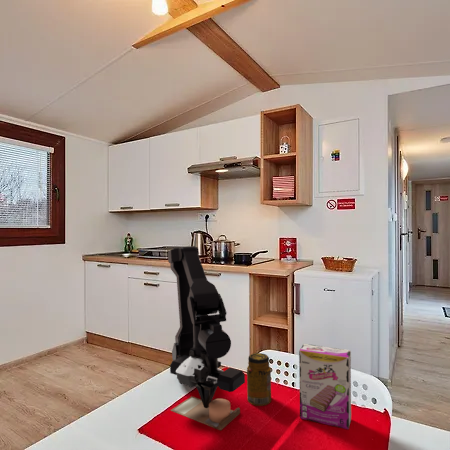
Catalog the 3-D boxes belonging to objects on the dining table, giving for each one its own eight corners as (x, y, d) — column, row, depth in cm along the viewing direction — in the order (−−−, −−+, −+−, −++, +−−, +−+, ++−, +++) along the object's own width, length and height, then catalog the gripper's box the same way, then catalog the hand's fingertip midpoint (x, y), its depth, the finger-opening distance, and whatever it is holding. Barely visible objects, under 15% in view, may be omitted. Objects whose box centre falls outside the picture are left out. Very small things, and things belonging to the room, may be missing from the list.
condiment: (259, 393, 93) (258, 349, 93) (283, 406, 87) (282, 358, 87) (239, 403, 89) (238, 356, 89) (263, 417, 82) (262, 366, 82)
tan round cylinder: (204, 418, 80) (204, 405, 80) (217, 408, 85) (217, 396, 84) (222, 425, 78) (222, 412, 78) (234, 414, 82) (234, 402, 82)
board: (170, 413, 84) (170, 405, 84) (191, 399, 91) (191, 391, 91) (220, 433, 76) (220, 424, 76) (240, 416, 82) (239, 408, 82)
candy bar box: (299, 420, 80) (297, 349, 80) (303, 409, 85) (302, 342, 85) (350, 431, 76) (348, 356, 76) (352, 419, 80) (350, 349, 80)
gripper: (153, 345, 81) (154, 411, 82) (217, 362, 71) (218, 438, 71) (184, 332, 91) (185, 391, 91) (245, 346, 80) (246, 412, 80)
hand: (206, 407), depth 83 cm, fingers closed
